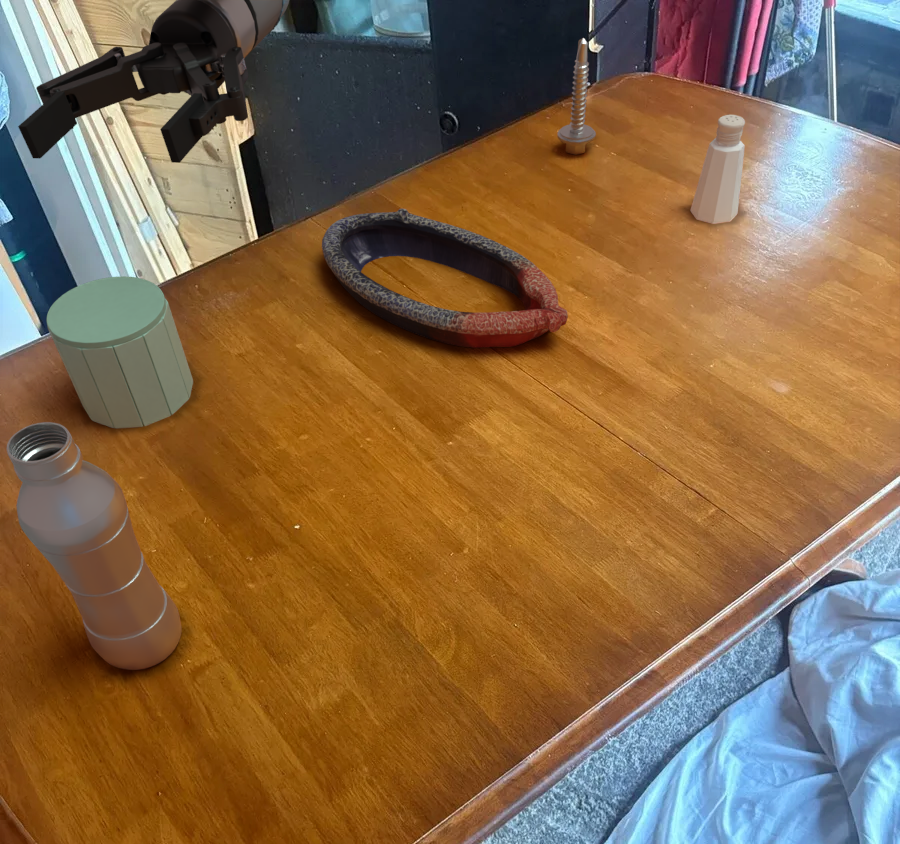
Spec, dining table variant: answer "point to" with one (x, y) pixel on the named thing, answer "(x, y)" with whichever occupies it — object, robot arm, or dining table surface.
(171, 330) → the green ribbed canister
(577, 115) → the screw
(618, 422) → the dining table surface
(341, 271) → the grey speckled oval ring
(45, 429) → the plastic bottle
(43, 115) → the robot arm
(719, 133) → the salt shaker
